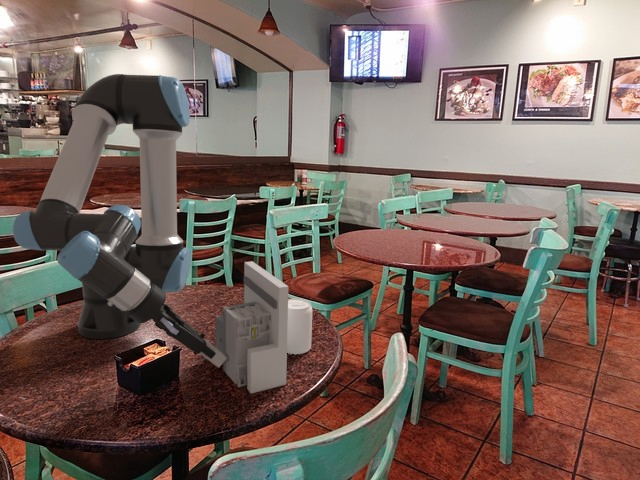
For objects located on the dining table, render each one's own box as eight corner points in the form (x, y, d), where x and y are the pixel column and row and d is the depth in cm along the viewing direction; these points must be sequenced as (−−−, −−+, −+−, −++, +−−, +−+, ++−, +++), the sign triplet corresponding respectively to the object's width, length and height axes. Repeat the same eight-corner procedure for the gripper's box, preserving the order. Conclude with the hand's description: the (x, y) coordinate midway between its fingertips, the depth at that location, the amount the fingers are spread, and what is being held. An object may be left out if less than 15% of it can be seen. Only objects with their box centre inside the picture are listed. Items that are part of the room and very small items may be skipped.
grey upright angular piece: (220, 352, 109) (219, 264, 104) (251, 345, 113) (252, 261, 108) (250, 393, 92) (251, 291, 87) (286, 384, 96) (288, 286, 91)
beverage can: (274, 343, 115) (275, 299, 112) (304, 339, 118) (306, 296, 115) (283, 358, 107) (284, 311, 105) (315, 354, 110) (317, 307, 107)
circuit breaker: (243, 351, 110) (242, 293, 107) (270, 377, 99) (271, 313, 95) (213, 358, 106) (212, 298, 103) (238, 387, 94) (237, 320, 91)
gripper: (119, 300, 91) (201, 361, 103) (127, 324, 80) (219, 389, 91) (146, 273, 93) (224, 336, 104) (158, 292, 81) (244, 360, 93)
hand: (221, 361), depth 98 cm, fingers closed
